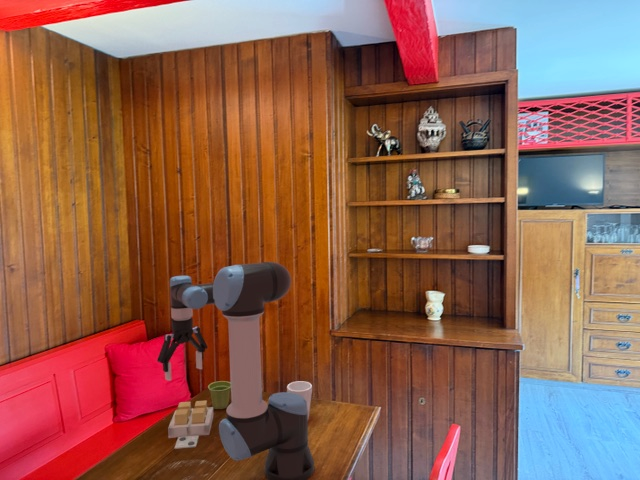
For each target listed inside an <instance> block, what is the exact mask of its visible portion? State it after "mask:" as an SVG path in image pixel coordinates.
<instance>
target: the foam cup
mask: <svg viewBox="0 0 640 480" xmlns="http://www.w3.org/2000/svg"><path fill="white" fill-rule="evenodd" d="M286 392H288V393H294V394H298V395H300V396H302V397H303V398H304V399H305V400H306V402H307V410H308V414H307V419H308V420H309V419H310V410H311V400H312V393H313V385H312V384H311V382H309V381H303V380H299V381H298V380H296V381H292V382H290V383H289V384H287V386H286Z"/></svg>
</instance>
